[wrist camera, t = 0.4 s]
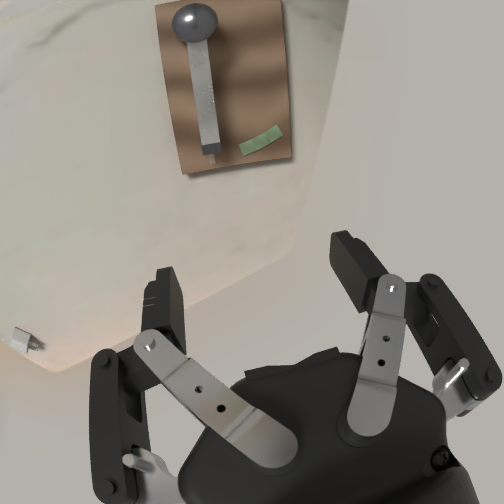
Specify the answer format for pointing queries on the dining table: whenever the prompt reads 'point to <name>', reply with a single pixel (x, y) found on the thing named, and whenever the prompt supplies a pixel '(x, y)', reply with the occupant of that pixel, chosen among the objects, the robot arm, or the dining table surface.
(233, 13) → the plate
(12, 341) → the usb wall charger
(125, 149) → the dining table surface
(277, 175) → the dining table surface
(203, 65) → the lever
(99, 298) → the dining table surface
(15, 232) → the dining table surface
